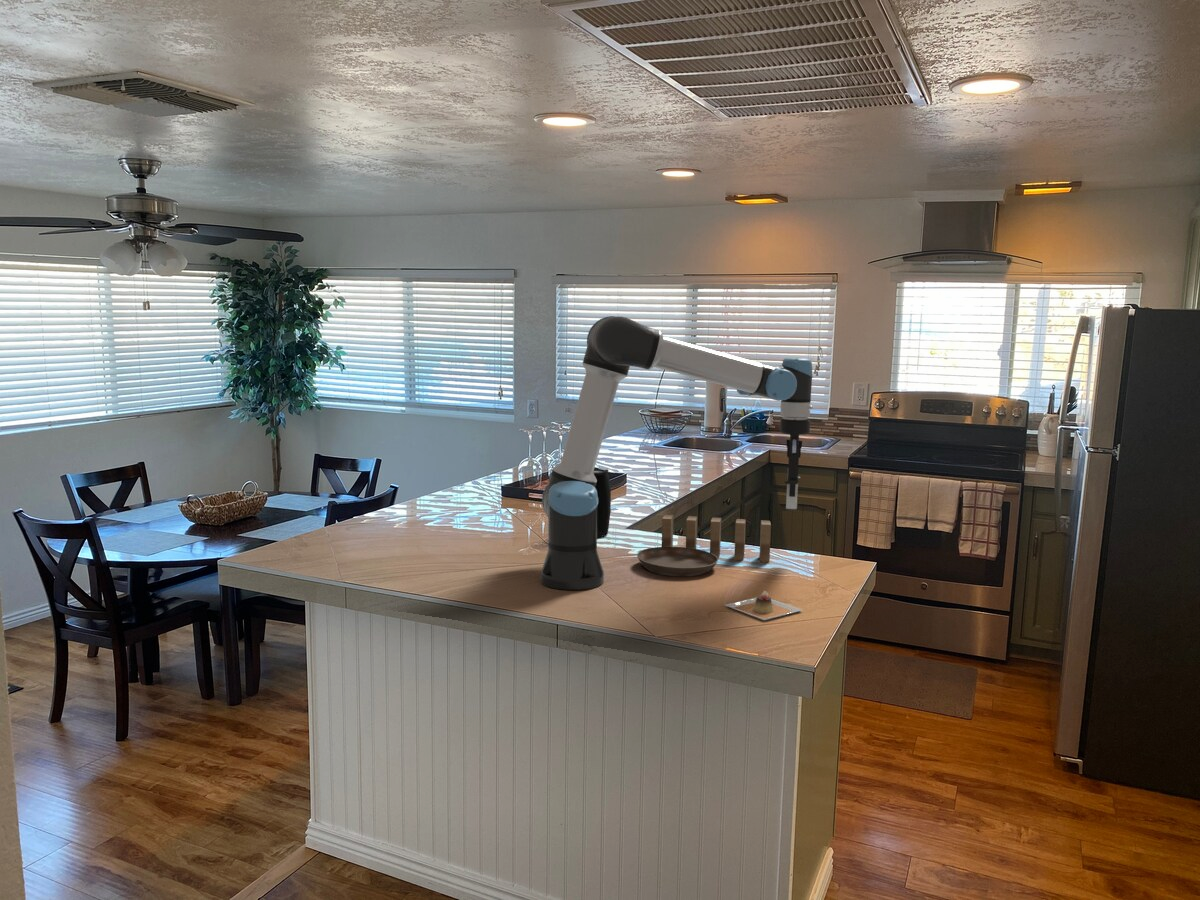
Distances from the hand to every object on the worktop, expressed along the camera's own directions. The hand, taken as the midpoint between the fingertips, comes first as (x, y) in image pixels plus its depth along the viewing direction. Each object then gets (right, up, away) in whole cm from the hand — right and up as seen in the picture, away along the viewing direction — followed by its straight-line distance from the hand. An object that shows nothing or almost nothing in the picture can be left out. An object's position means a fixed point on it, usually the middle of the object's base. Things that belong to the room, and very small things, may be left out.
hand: (791, 506), depth 232 cm
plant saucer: (-31, -16, -6) cm, 35 cm away
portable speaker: (-52, -10, +28) cm, 60 cm away
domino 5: (-6, -14, +3) cm, 16 cm away
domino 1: (-32, -13, +9) cm, 36 cm away
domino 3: (-19, -14, +6) cm, 25 cm away
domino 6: (0, 0, 0) cm, 0 cm away
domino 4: (-13, -14, +5) cm, 20 cm away
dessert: (-15, -21, -39) cm, 46 cm away
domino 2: (-26, -14, +7) cm, 30 cm away
